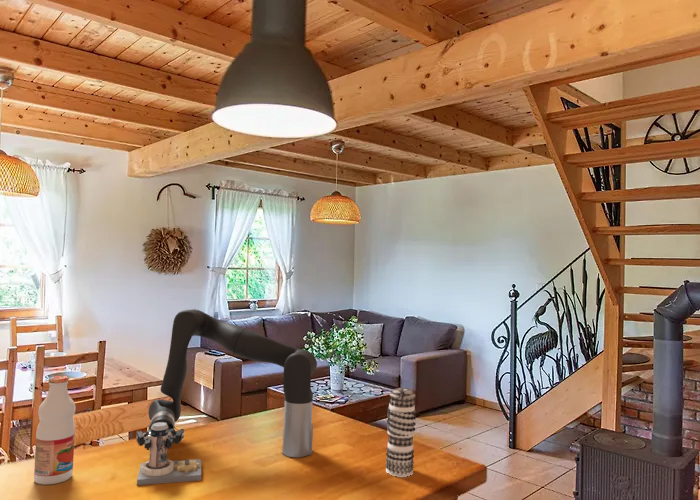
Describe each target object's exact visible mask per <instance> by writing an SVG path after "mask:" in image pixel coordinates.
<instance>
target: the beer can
mask: <svg viewBox="0 0 700 500" xmlns="http://www.w3.org/2000/svg"><path fill="white" fill-rule="evenodd" d="M167 440H168V425H167V423H165V422H157V423H154V424H153V425H152V427H151V438H150V449H149V460H148V461H149V466H150V467H152V468H161V467H163V466H165V465H166V461H167V459H168V458H167V457H168V449H167Z"/></svg>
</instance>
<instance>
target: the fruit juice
mask: <svg viewBox="0 0 700 500" xmlns="http://www.w3.org/2000/svg"><path fill="white" fill-rule="evenodd" d="M69 379H70V378H69V376H67V375H54V376H50V377H49V378H48V385H49V389H48V391H47V394H46V397H45V399H44V400H42V402H41V403H40V405H39V406H38V411H37V415H38V419H39V423H38V425H37V428H36V431H35V432H36V434H35V450H34V451H35V453H34V467H33V468H34V469H33V470H34V472H33V479H34V482H35V483H36V484H37V485H47V486H48V485H49V486H50V485H56V484H60V483H63V482H66V481H69V480H70V479H71V478H72V476H73V471H74V453H75V452H74V451H75V437H76V435H75V433H76V431H75V430H76V429H75V428H76V424H75V420H74V415H75V413H76V403H75V401H74V400H73V399H72V397H71V396H70V394H69V389H68V383H69Z"/></svg>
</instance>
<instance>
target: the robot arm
mask: <svg viewBox="0 0 700 500" xmlns="http://www.w3.org/2000/svg"><path fill="white" fill-rule="evenodd" d="M172 323H173V324H172V330H171V338H170V347H169V353H168V359H167V363H166V367H165V372H164V375H163V378H162V382H161V385H160V392H161V394H164V395H165V396H167V397H170V398H171V399H172V400H165V399H160V398H159V399H154V400H153V401H152V402H151V403H150V405H149V407H148V419H149V420H150V423H149V427H148V430H146V431H145V432H143V431H141V430H138V431H136V437H135V438H136V439H135V440H136V442H137V444H138V446H140V447H142V446H144V447H143V448H144V449H145V450H146V451H150V438H151V427H152V425H153V424H154V423H157V422H165V423H167V425H168V440H167V450H170V448H172V447H173V444H175V445H179V444H180V443H181V442H182V440H183V439H184V437H185V429H184V428H180V429H178V430H176V429H175V427H176V422H178V420H179V419H180V417H181V414H182V413H181V411H182V406H181V400H182V399H181V398H182V390H183V387H184V383H185V380H186V376H187V371H188V365H187V363H188V362H187V355H188V354H187V353H188V349H189V348H188V347H189V345H190V342H191V339H192V337H195V336H196V337H202V338H205V339H208V340H211V341H213V342H216V343H218V344H219V345H220V346H221V347H222V348H224V349H225V350H226V351H228V352H230V353H231V354H233V355H235V356H238V357H240V358H243V359H247V360H250V361H255V362H262V363H270V364H273V365H277V366H280V367H283V380H282V381H283V384H282V385H283V388H282V389H283V393H284V409H283V434H282V454H283V455H284V456H285V457H290V458H303V457H307V456H311V455H313V439H314V425H313V422H312V421H313V400H314V392H313V391H312V387H311V383H312V380H311V379H312V375H313V373H315V371H316V370H317V366H318V361H317V359H316V357H315V355H314V354H313V353H312V352H310V351H309V350H307V349H302V348H298V347H295V346H290V345H287V344H284V343H281V342H279V341H276V340H274V339H271V338H269V337H267V336H264V335H262V334H259V333H257V332H255V331H253V330H251V329H247V328H245V327H241V326H238V325H235V324H233V323H232V324H231V323H228V322H225V321H222V320H219V319H217V318H216V317H214V316H212V315H209V314H208V313H206V312H204V311H201V310H199V309H196V308H194V309H184V310H180V311H178V313H177V314H176V315H175V316H174V318H173V322H172Z"/></svg>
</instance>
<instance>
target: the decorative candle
mask: <svg viewBox="0 0 700 500" xmlns="http://www.w3.org/2000/svg"><path fill="white" fill-rule="evenodd" d="M388 395H389V402H388V403H389V404H388V406H387V408H386V413H387V414H386V417H387V420H386V424H387V427H386V430H387V431H386V434H388V441H387V447H386V448H385V449H386V453H385V454H386V458H385V472H386V473H389V474H390V475H389V474H388V475H389V476H391V475H392V477H395V476H397V477H396V478H408V477H411V476H413V474H414V463H415V462H414V457H415V455H414V453H415V450H414V436H415V431H416V427H415V426H416V425H417V424H416V422H415V421H414V420H417V416H416V414H418V413H417V412H418V411H416V410H415V409H416V408H415V406H416V405H415V398H416V394H415V393H413V391H412V390H411V389H410V388H407V387H406V388H405V387H396V388H394V389H392V390H391V392H389V393H388ZM410 475H411V476H410ZM407 476H408V477H407Z"/></svg>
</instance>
